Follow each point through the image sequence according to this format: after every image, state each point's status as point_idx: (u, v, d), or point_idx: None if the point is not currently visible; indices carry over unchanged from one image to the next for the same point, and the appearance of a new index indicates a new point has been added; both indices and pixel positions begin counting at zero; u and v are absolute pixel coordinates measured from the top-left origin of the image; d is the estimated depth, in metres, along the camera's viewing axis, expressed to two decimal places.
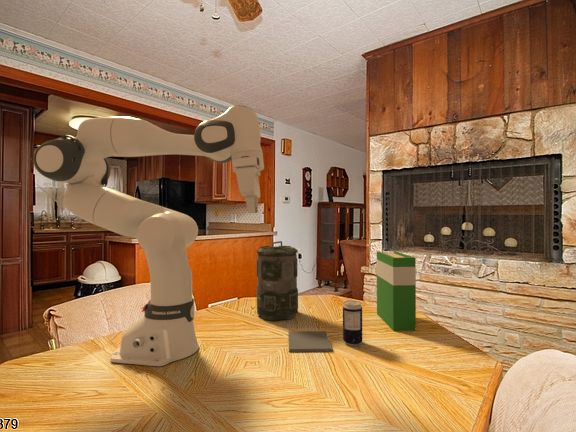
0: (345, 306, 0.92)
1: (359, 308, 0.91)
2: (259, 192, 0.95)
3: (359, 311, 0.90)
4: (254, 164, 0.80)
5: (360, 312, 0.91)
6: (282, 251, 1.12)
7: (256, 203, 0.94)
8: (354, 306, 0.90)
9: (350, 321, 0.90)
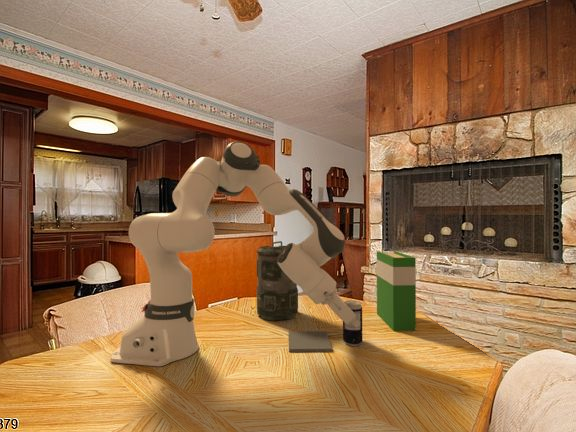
0: None
1: (359, 308, 0.91)
2: None
3: (359, 311, 0.90)
4: None
5: (360, 312, 0.91)
6: None
7: None
8: (354, 306, 0.90)
9: None
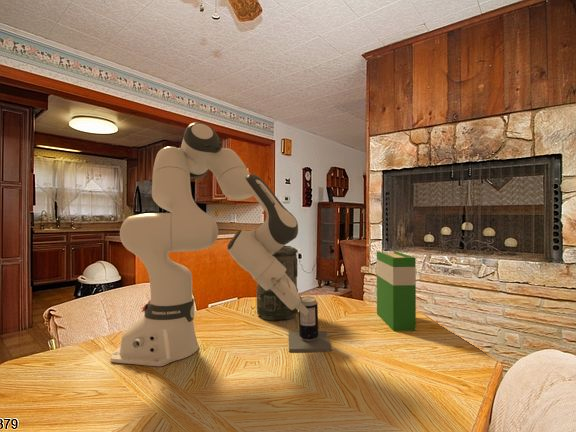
0: None
1: (314, 304, 0.92)
2: None
3: (313, 307, 0.91)
4: None
5: (315, 308, 0.92)
6: (282, 251, 1.12)
7: None
8: (309, 302, 0.91)
9: (305, 317, 0.91)
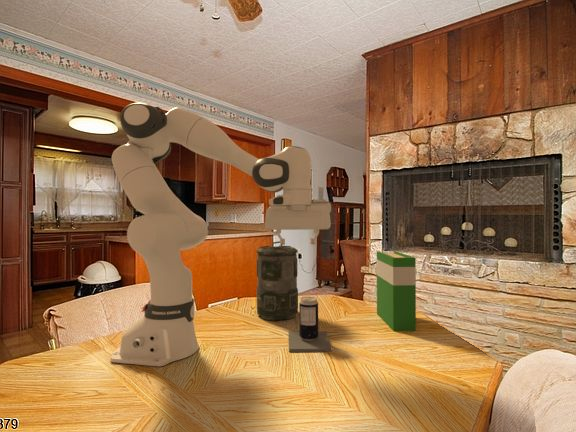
0: (301, 302, 0.93)
1: (314, 304, 0.92)
2: (319, 224, 0.95)
3: (314, 307, 0.92)
4: (270, 204, 0.94)
5: (315, 308, 0.92)
6: (282, 251, 1.12)
7: (315, 235, 0.96)
8: (309, 302, 0.92)
9: (306, 317, 0.92)
